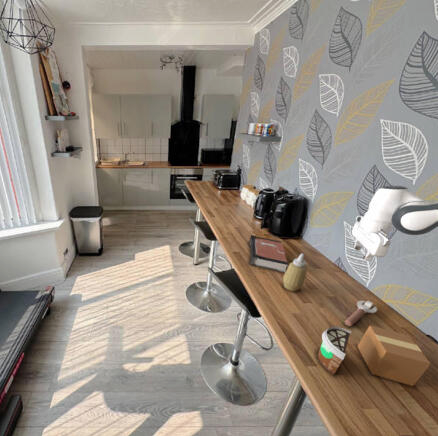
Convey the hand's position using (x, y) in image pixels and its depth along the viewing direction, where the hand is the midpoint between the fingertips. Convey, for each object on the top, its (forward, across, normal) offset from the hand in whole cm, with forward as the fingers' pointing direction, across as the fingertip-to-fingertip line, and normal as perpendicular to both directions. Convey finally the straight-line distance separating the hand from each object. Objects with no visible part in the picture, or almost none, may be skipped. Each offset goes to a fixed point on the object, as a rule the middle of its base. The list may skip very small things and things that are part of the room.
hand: (361, 254), depth 99 cm
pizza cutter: (+20, -16, 0) cm, 25 cm away
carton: (+19, -38, +2) cm, 43 cm away
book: (+20, +18, +31) cm, 41 cm away
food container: (+20, -42, +19) cm, 50 cm away
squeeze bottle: (+20, -7, +23) cm, 31 cm away
